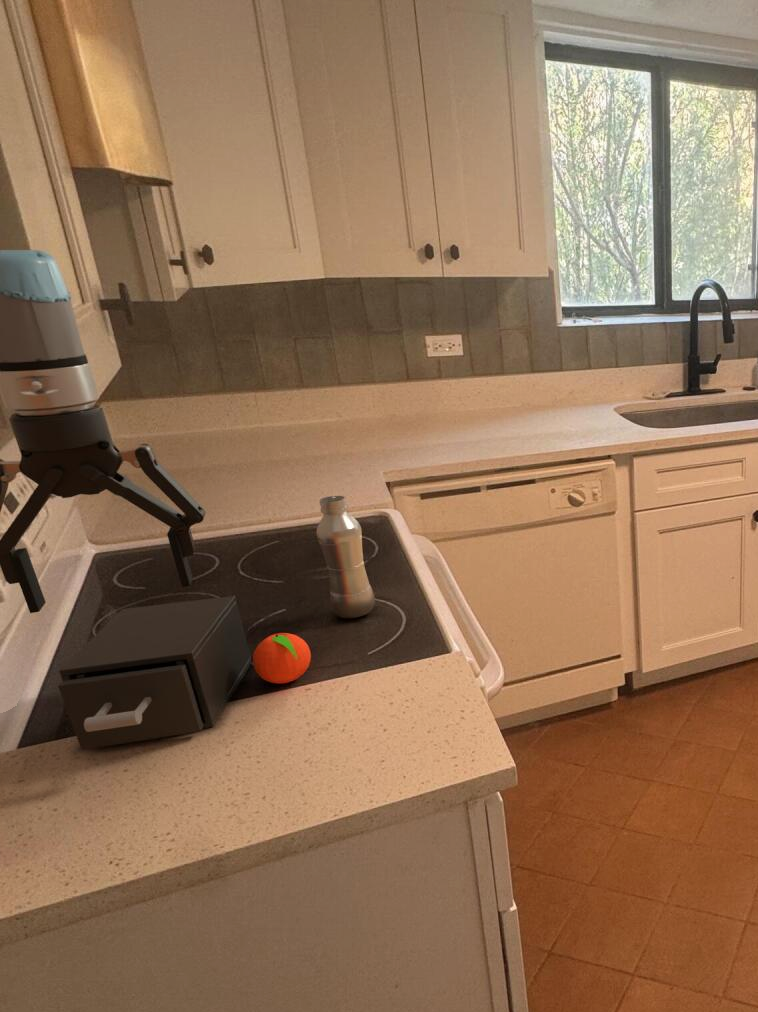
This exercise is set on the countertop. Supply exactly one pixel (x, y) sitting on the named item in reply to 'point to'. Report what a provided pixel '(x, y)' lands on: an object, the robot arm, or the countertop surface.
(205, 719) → the dark drawer cabinet
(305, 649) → the clementine
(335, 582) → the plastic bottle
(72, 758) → the countertop surface
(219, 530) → the countertop surface
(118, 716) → the open grey drawer
